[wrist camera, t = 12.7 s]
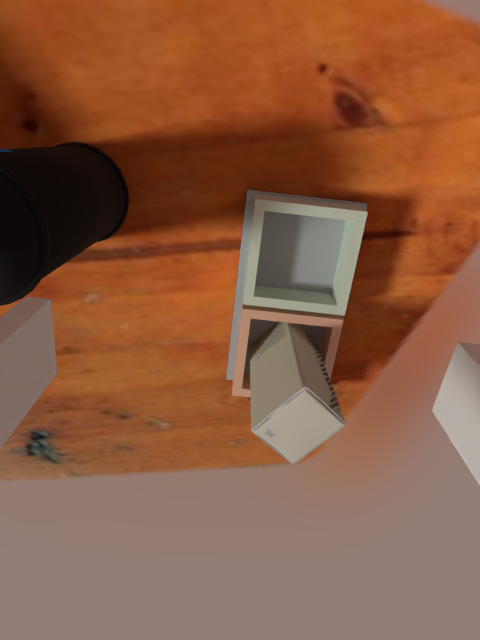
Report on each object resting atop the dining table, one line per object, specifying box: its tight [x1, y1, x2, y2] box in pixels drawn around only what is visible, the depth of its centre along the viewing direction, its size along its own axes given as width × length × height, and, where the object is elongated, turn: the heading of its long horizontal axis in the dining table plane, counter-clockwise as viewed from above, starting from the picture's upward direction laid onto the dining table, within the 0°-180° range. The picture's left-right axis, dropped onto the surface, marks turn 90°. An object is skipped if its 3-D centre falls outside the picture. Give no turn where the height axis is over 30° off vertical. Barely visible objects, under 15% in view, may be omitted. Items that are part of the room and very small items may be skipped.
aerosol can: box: [0, 143, 129, 306], centre depth 27 cm, size 8×8×20 cm
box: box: [250, 322, 345, 464], centre depth 34 cm, size 5×4×13 cm
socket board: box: [226, 189, 368, 397], centre depth 38 cm, size 18×10×4 cm, turn 174°
